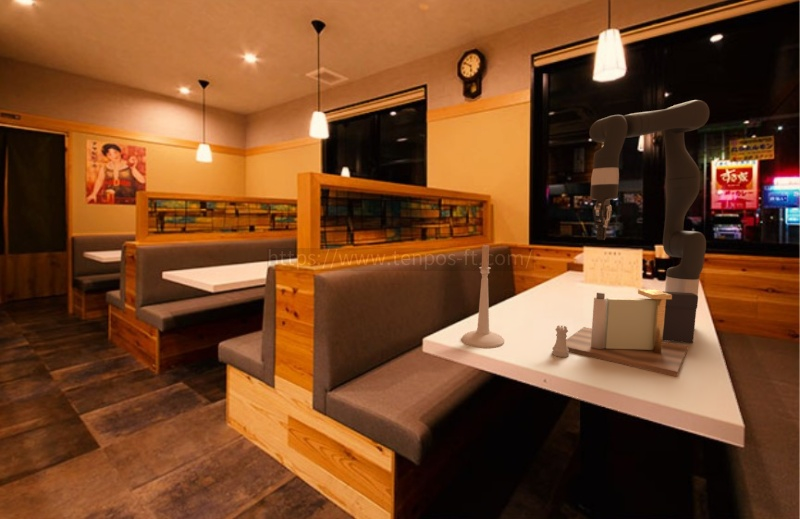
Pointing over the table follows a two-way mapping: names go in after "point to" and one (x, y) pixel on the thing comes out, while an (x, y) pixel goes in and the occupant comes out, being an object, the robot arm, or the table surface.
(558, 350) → the rook chess piece
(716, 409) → the table surface
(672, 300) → the dark brown flat block
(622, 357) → the board
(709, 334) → the table surface
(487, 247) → the candlestick
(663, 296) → the plate
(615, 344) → the hinge
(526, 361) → the table surface
